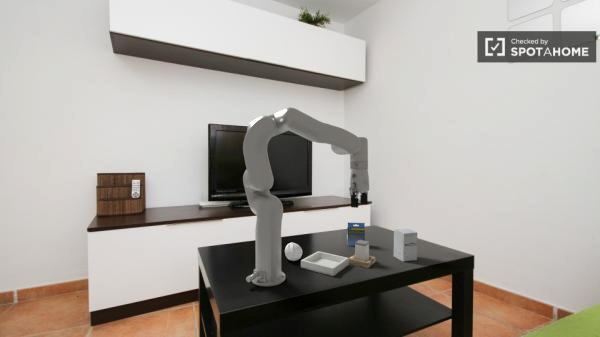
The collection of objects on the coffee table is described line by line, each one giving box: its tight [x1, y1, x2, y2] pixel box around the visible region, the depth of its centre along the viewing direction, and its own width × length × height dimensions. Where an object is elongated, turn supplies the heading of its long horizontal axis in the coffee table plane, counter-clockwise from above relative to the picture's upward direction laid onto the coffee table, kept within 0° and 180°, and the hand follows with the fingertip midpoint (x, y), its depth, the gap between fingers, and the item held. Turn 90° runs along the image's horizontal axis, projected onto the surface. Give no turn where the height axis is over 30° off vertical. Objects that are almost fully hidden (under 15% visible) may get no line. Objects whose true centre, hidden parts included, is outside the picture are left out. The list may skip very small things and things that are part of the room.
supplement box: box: [393, 228, 418, 262], centre depth 123 cm, size 7×7×13 cm
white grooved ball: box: [284, 242, 303, 262], centre depth 121 cm, size 8×8×8 cm
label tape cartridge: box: [346, 222, 366, 247], centre depth 142 cm, size 9×4×12 cm, turn 84°
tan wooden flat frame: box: [348, 253, 377, 269], centre depth 118 cm, size 9×9×2 cm
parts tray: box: [300, 250, 350, 277], centre depth 114 cm, size 14×15×3 cm
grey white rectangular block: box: [354, 240, 370, 262], centre depth 118 cm, size 4×4×9 cm
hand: (359, 205), depth 118 cm, fingers open, 9 cm apart
